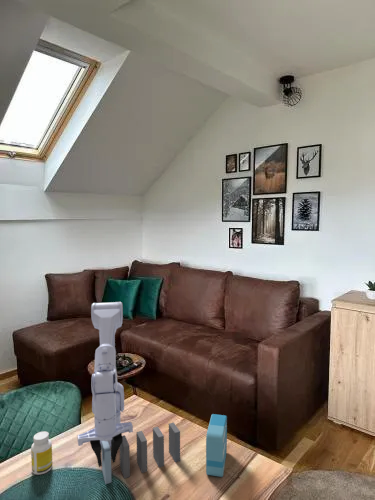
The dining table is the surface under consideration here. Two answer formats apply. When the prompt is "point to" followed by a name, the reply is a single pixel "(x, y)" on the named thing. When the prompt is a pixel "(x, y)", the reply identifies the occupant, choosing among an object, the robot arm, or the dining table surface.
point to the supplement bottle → (41, 453)
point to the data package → (216, 445)
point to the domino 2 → (141, 451)
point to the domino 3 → (158, 446)
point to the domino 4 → (174, 442)
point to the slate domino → (106, 462)
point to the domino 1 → (125, 458)
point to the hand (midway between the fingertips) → (106, 462)
